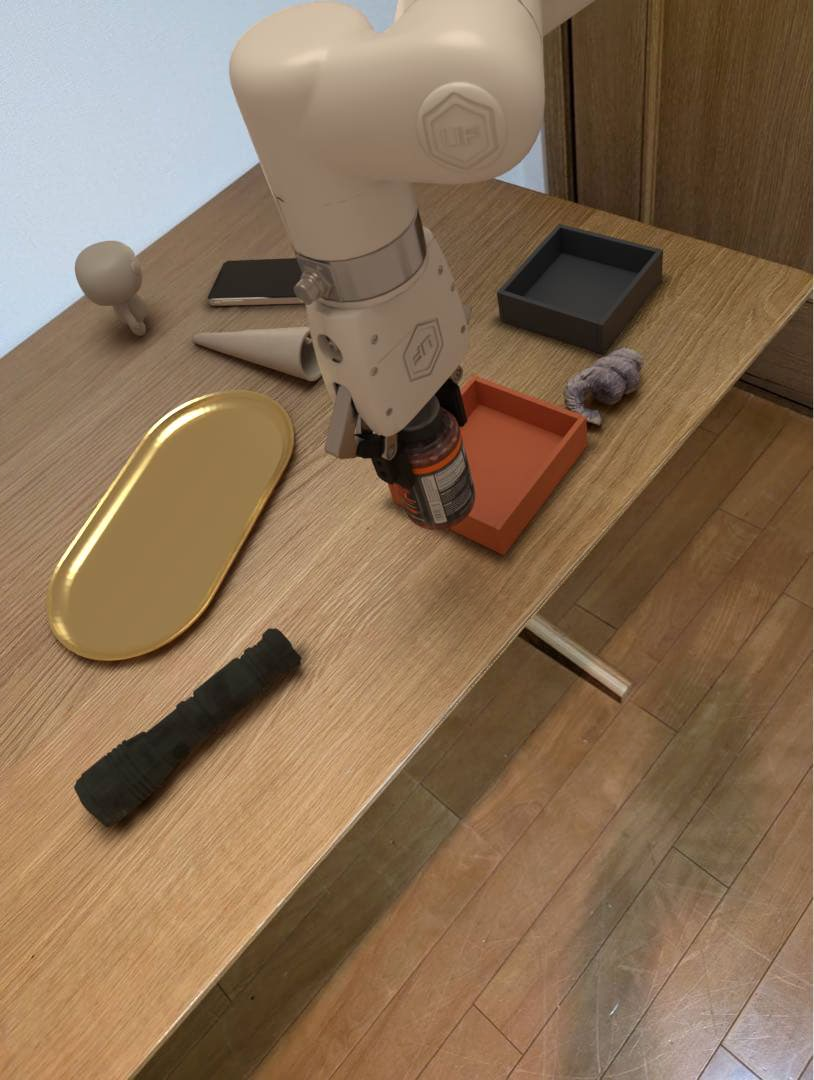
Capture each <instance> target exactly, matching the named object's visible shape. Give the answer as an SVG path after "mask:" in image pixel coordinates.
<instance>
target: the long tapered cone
mask: <svg viewBox="0 0 814 1080" xmlns="http://www.w3.org/2000/svg"><path fill="white" fill-rule="evenodd" d="M308 339H311V340H308ZM192 341H193V343H195V344H196V345H199V346H202V347H205V348H207V349H209V350H213V351H216V352H219V353H221V354H225V355H228V356H230V357H234V358H238V359H240V360H244V361H247V362H250V363H252V364H256V365H259V366H262V367H265V368H268V369H272V370H274V371H278V372H280V373H284V374H286V375H289V376H292V377H296V378H298V379H302V380H305V381H307V382H315V381H317V380H319V379H320V378H321V377H322V374H321V371H320V367H319V364H318V361H317V357H316V354H315V350H314V346H313V342H312V338H311V333H310V328H309V326H297V327H296V326H295V327H294V326H293V327H279V328H277V327H276V328H275V327H274V328H261V329H259V328H258V329H244V330H240V331H237V330H236V331H220V332H219V331H218V332H216V331H215V332H199V333H196V334H194V335H193V336H192Z"/></svg>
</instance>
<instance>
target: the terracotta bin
mask: <svg viewBox="0 0 814 1080" xmlns="http://www.w3.org/2000/svg"><path fill="white" fill-rule="evenodd" d="M460 391H461V395H462V400H463V404H464V408H465V412H466V416H467V423H466V424H465V425H464V426H463V427H459V428H460V431H461V435H462V439H463V443H464V447H465V451H466V455H467V459H468V463H469V468H470V472H471V476H472V480H473V484H474V489H475V502H474V506H473V508H472V510H471V512H470V513H469V515H468V516H467V517H466V518H465V519H464V520H463V521H461V522H460V523H458V524H457V525H455V526H452V527H449V528H447V529H449V530H451V531H453V532H455V533H456V534H459V535H461V536H463V537H465V538H467V539H469V540H471V541H473V542H475V543H477V544H480V545H482V546H483V547H485V548H488V549H490V550H491V551H494V552H496V553H498V554H500V555H502V556H505V555H506V553H508V551H509V549H510V548H511V547H512V545H513V544H514V543H515V541H516V540H517V539H518V537H519V536H520V535H521V533H522V532H524V529H526V527H527V526H528V524H529V523H530V522H531V521H532V519H533V518H534V516H535V515H536V514H537V513H538V511H539V510H540V509H541V507H542V506H543V505H544V503H545V502H546V501H547V499H548V498H549V497H550V495H551V494H552V493H553V492H554V490H555V489H556V487H557V486H558V485H559V483H560V482H561V481H562V480H563V478H564V477H565V476H566V474H567V473H568V472H569V470H570V469H571V468H572V466H573V465H574V464H575V462H576V461H577V460H578V458H579V457H580V456H581V454H582V453H583V452H584V450H585V449H586V448H587V447H588V445H589V444H588V426H587V425H588V423H587V422H588V421H587V420H586V417H585V416H583V415H580V414H577V413H575V412H572V411H569V410H567V408H563V407H561V406H559V405H556V404H553V403H550V402H548V401H545V400H542V399H540V398H538V397H537V398H536V397H534V396H532V395H529V394H526V393H524V392H520V391H518V390H515V389H512V388H510V387H507V386H505V385H502V384H499V383H497V382H494V381H491V380H489V379H485V378H483V377H480V376H478V375H474V374H473V375H472V376H471V377H470V378H469V380H468V381H467V382H466V383H465V384H464V385H463V387H462V388H460ZM387 485H388V489H389V492H390V495H391V498H392V501H393V502H394V503H395V504H396V505H399V506H401V507H403V504H402V502H401V500H400V496H399V493H398V491H397V488H396V485H395V483H394V484H393V485H391V484H388V483H387Z"/></svg>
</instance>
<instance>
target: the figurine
mask: <svg viewBox="0 0 814 1080" xmlns="http://www.w3.org/2000/svg"><path fill="white" fill-rule="evenodd" d="M74 275H75V278H76V281H77V283H78V286H79V288H80V290H81V291H82V293H83V294H84V295H85V296H86V298H87V299H88V300H89V301H91V302H92V303H93V304H96V305H98V306H102V307H112V309H113V311H114V314H115V316H116V317H117V319H118V320H120V322H122V323H123V324H126V325H128V327H129V329H130V330H131V332H132V333H133V334H134V335H136V336H138V337H143V336H144V335H146V333H147V328H146V325H145V322H144V320H145V318H146V317H147V315H148V306H147V302H146V301H145V300H144V298H143V297H142V296H141V295H139V293H138V292H139V291H140V289H141V288H142V284H143V271H142V268H141V265H140V262H139V260H138V258H137V256H136V254H135V252H134V251H133V249H132V248H131V247H130V246H129V245H126V244H125V243H123V242H121V241H119V240H103V241H99V242H97V243H93V244H90V245H89V246H86V247H85V248H84V249H82V250H81V251H80V252H79V253H78V255H77V257H76V259H75V262H74Z"/></svg>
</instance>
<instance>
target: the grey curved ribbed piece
mask: <svg viewBox="0 0 814 1080" xmlns="http://www.w3.org/2000/svg"><path fill="white" fill-rule="evenodd" d="M644 361H645V358H643V356H641V355H640V353H639V352H638V351H637V350H635V349H631V348H628V347H627V348H626V347H624V346H621V347H618V349H617V350H611V351H610V352H609V353H608V354H606V355H605V356H603V357H601V358H598V359H597V360H596V361H594V362H593V363H592V364H590V365H589V367H588V368H587V367H586V368H584V369H581V371H579V372H577V373H576V374H574V375H573V377H570V378H569V379H568V380H567V381H566V383H565V386H564V388H563V392H562V393H563V397H564V405H565V409H567V410H569V411H572V412H575V413H577V414H580V415H583V416H585V417H586V420H587V422H588V423H592V425H597V427H598V426H600V425H602V424H603V423H604V422H605V421H604V420H603V418H602V416H601V415H600V413H599V409H597V410H596V409H595V410H593V409H592V410H591V409H590V408H587V407H585V400H586V397H587V395H589V394H590V395H591V396H592V398H593V399H595V400H597V401H598V402H600V403H603V404H606V405H615V404H616V403H618V402H620V401H621V400H622V399H623V396H624V395H629V394H630V393H633V392H634V391H636V389H638V387H639V385H640V384H641V375H640V371H642V369H643V368H644V365H645V363H644Z"/></svg>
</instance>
